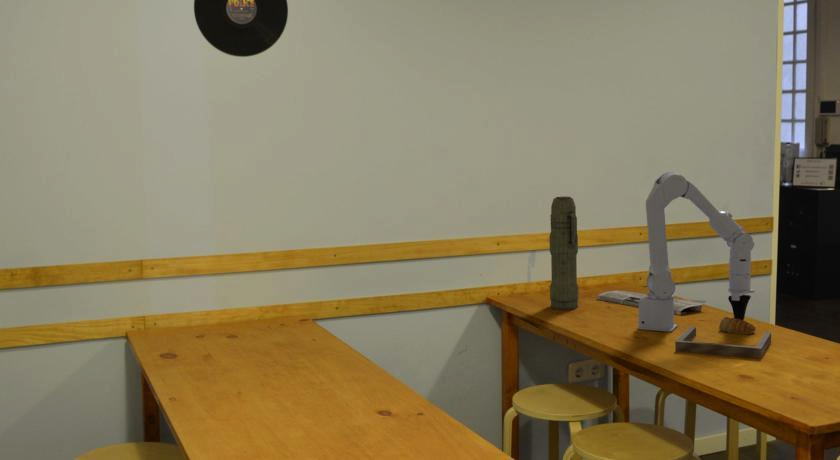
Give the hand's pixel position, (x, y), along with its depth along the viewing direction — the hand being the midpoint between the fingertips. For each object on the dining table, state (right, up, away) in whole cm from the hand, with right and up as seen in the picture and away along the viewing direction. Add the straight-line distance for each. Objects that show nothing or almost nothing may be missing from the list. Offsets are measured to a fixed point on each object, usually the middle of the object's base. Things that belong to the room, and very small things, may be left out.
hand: (739, 321), depth 274 cm
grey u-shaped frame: (-11, -5, -21) cm, 24 cm away
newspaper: (-17, +1, +34) cm, 38 cm away
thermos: (-45, +1, +34) cm, 56 cm away
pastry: (-2, -3, -5) cm, 6 cm away
